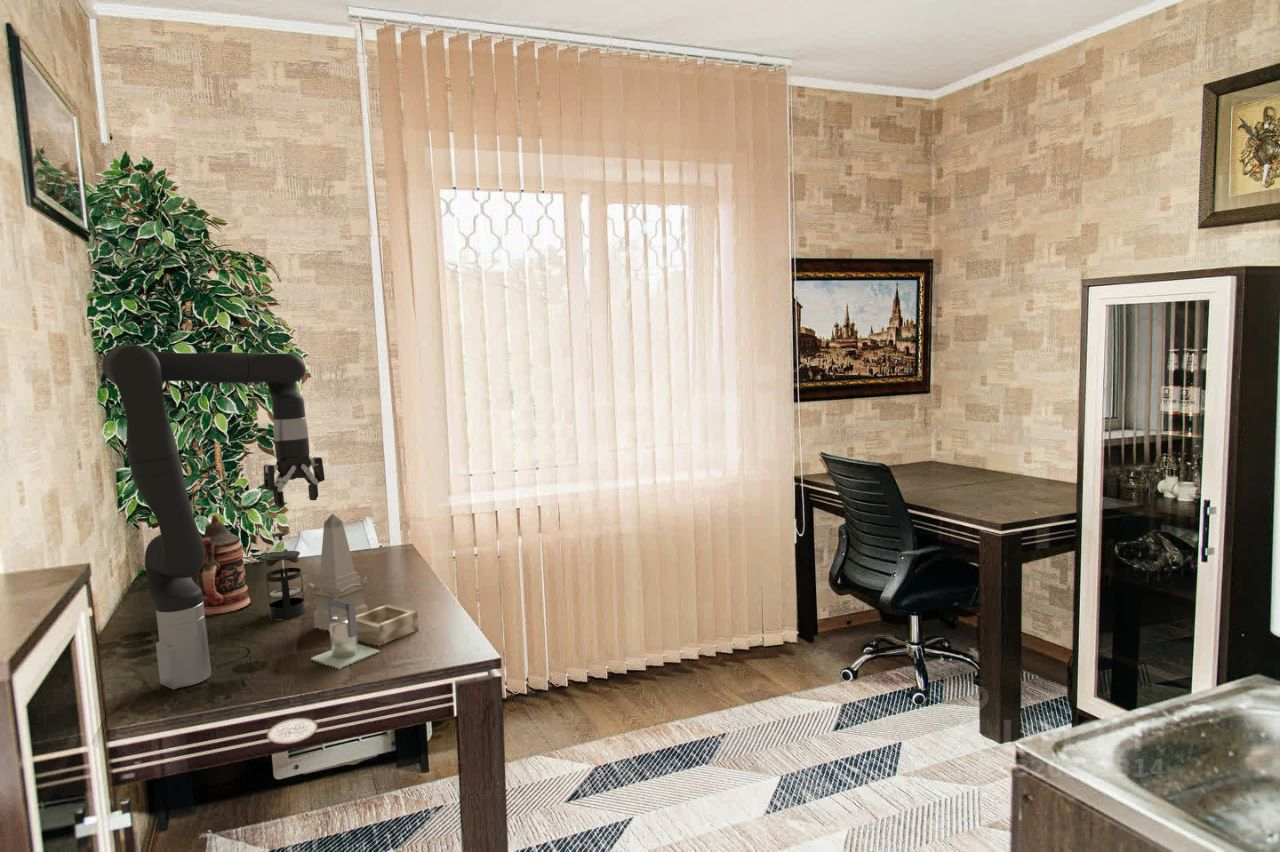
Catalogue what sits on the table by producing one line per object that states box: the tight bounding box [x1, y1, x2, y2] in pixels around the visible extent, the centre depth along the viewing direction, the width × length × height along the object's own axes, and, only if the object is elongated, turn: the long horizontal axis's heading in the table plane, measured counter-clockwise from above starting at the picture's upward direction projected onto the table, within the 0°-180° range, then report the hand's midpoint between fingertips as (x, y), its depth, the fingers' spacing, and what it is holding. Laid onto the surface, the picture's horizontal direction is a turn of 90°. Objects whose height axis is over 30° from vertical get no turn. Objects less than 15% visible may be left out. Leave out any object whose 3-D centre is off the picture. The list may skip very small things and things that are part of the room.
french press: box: [263, 531, 307, 620], centre depth 219 cm, size 12×9×23 cm
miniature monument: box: [308, 513, 370, 632], centre depth 207 cm, size 10×10×30 cm
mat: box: [310, 643, 381, 670], centre depth 187 cm, size 11×11×1 cm
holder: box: [356, 603, 419, 647], centre depth 201 cm, size 12×12×5 cm
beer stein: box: [196, 514, 251, 614], centre depth 226 cm, size 17×28×18 cm
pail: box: [327, 597, 359, 659], centre depth 187 cm, size 6×8×13 cm
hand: (297, 503), depth 191 cm, fingers open, 8 cm apart
